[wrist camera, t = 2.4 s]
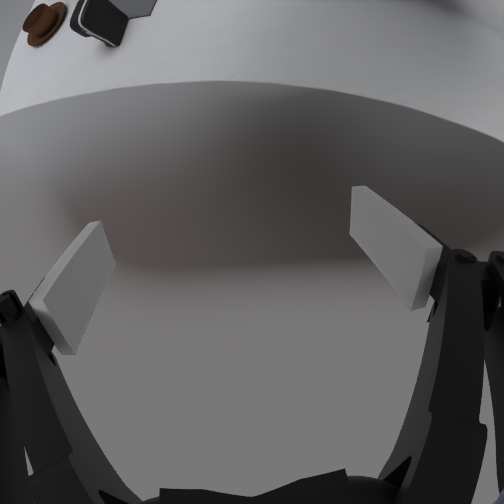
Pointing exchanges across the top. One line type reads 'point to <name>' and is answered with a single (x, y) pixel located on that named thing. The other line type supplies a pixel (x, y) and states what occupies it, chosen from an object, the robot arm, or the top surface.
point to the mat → (135, 7)
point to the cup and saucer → (43, 22)
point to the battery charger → (99, 21)
